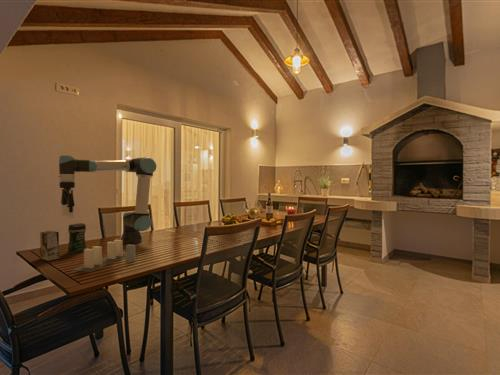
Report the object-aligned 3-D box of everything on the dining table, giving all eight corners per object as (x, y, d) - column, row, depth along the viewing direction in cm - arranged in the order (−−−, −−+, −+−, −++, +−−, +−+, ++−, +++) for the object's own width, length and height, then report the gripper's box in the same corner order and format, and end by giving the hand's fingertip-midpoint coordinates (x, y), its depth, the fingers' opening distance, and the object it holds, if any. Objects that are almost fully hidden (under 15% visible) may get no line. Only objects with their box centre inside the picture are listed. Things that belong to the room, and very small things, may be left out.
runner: (113, 254, 168) (113, 253, 168) (129, 256, 166) (129, 255, 165) (71, 270, 139) (71, 269, 139) (89, 272, 136) (89, 272, 136)
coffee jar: (72, 254, 168) (72, 225, 167) (66, 252, 172) (65, 224, 171) (88, 250, 176) (88, 223, 175) (81, 248, 180) (81, 222, 179)
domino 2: (94, 263, 150) (94, 246, 149) (102, 264, 149) (101, 246, 148) (92, 264, 148) (92, 246, 148) (99, 265, 147) (99, 247, 147)
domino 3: (109, 257, 161) (109, 241, 160) (116, 258, 159) (116, 242, 159) (107, 258, 159) (107, 242, 159) (114, 259, 158) (114, 242, 157)
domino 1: (86, 266, 145) (86, 248, 144) (94, 267, 143) (94, 249, 143) (84, 267, 143) (84, 249, 143) (91, 268, 142) (91, 250, 141)
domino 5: (128, 260, 157) (128, 244, 156) (135, 261, 155) (135, 244, 155) (126, 261, 155) (126, 244, 155) (133, 262, 154) (133, 245, 153)
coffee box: (59, 258, 159) (59, 232, 159) (47, 261, 154) (46, 233, 153) (52, 255, 164) (52, 230, 163) (40, 258, 158) (39, 232, 158)
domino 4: (116, 255, 166) (115, 239, 166) (122, 255, 165) (122, 240, 164) (114, 255, 164) (114, 240, 164) (120, 256, 163) (120, 240, 163)
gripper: (54, 180, 163) (55, 214, 164) (64, 181, 146) (65, 219, 147) (69, 180, 168) (69, 213, 169) (80, 181, 151) (80, 218, 152)
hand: (67, 216), depth 158 cm, fingers open, 13 cm apart
